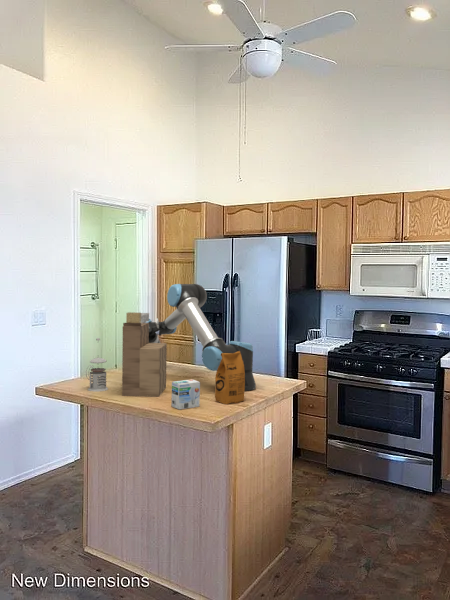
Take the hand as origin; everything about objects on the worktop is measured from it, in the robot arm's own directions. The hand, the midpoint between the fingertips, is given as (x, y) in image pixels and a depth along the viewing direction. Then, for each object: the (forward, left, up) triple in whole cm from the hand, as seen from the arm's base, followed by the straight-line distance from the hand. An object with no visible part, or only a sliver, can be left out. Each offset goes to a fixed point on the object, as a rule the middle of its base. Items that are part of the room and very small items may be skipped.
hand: (143, 320), depth 265 cm
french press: (+8, +25, -33) cm, 41 cm away
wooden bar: (-6, +10, 0) cm, 12 cm away
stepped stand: (-13, +14, -32) cm, 38 cm away
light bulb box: (-46, +25, -33) cm, 62 cm away
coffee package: (-56, +5, -33) cm, 65 cm away
